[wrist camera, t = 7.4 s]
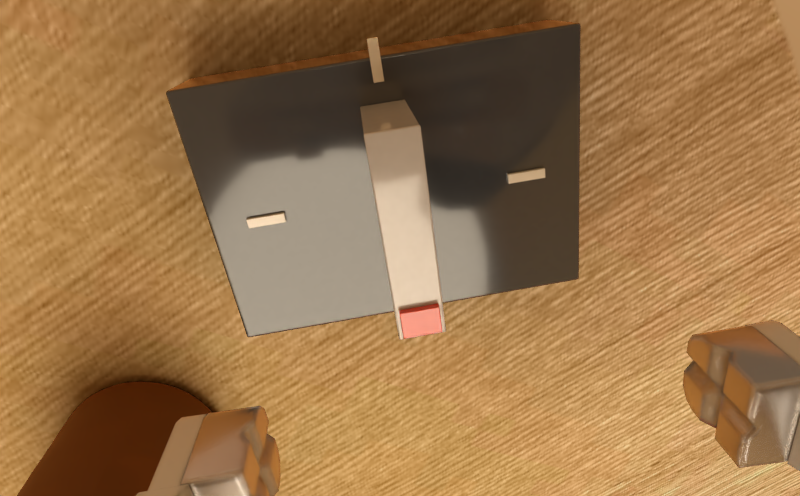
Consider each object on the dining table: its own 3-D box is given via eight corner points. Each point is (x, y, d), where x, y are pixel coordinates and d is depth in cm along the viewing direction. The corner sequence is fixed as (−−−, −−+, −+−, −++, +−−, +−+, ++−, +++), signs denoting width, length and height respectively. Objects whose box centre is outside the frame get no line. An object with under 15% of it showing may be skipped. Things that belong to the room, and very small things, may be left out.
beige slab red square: (359, 106, 18) (363, 136, 14) (405, 99, 18) (421, 126, 14) (389, 281, 21) (400, 345, 17) (429, 275, 21) (447, 336, 17)
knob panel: (549, 1, 20) (583, 3, 17) (553, 259, 25) (581, 293, 22) (183, 62, 20) (156, 73, 17) (261, 311, 25) (250, 352, 22)
